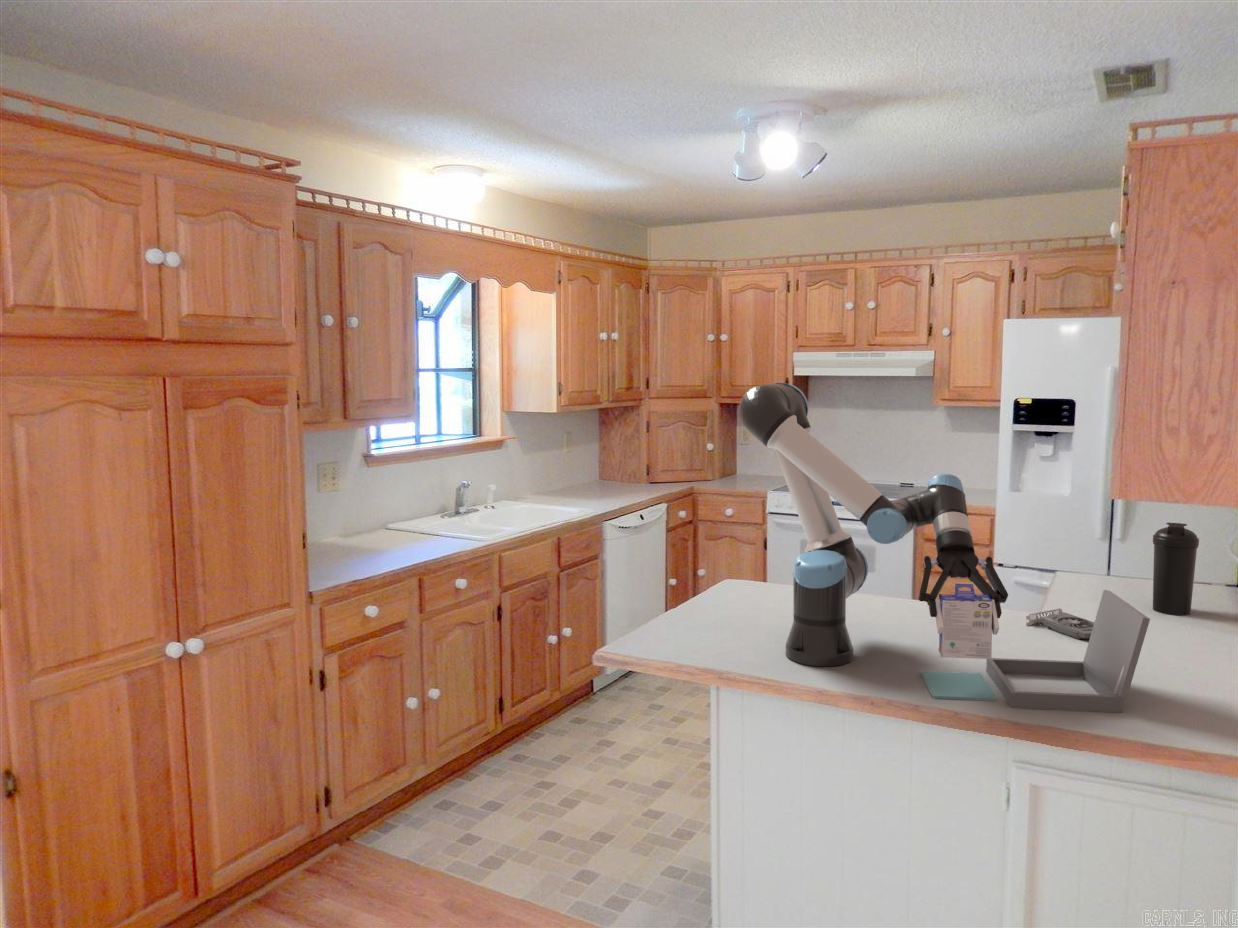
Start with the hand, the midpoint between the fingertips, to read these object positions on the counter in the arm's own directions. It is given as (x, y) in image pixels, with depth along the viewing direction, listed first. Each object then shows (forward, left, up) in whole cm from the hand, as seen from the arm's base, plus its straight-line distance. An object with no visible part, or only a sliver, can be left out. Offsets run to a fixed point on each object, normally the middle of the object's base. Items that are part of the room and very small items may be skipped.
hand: (968, 630), depth 178 cm
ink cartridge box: (0, +3, -6) cm, 7 cm away
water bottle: (+65, +65, -13) cm, 93 cm away
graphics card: (+33, +45, -14) cm, 57 cm away
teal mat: (-1, +3, -13) cm, 14 cm away
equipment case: (+19, +3, -13) cm, 23 cm away
